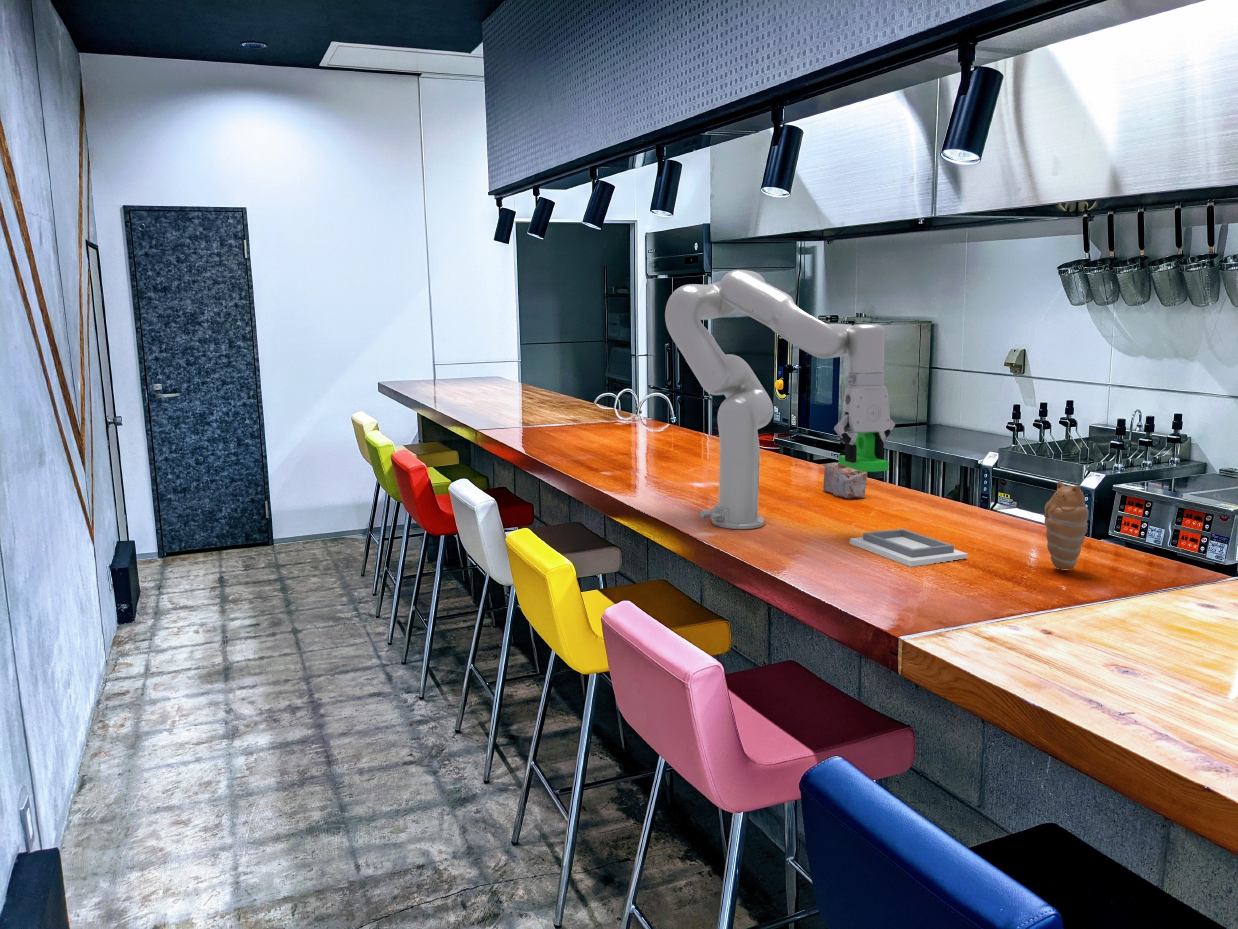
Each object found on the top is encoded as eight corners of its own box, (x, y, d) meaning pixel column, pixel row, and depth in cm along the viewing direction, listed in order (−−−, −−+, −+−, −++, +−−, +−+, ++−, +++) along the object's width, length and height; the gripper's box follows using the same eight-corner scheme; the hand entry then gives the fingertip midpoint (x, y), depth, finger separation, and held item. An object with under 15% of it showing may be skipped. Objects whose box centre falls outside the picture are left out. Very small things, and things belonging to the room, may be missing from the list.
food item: (870, 499, 256) (872, 463, 254) (845, 501, 253) (847, 465, 251) (841, 490, 268) (843, 456, 267) (818, 491, 266) (819, 457, 264)
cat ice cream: (1030, 567, 190) (1038, 480, 187) (1060, 563, 192) (1068, 477, 189) (1065, 578, 181) (1073, 488, 178) (1095, 575, 184) (1104, 485, 181)
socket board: (910, 566, 189) (911, 553, 189) (849, 543, 208) (850, 531, 207) (967, 559, 195) (968, 546, 195) (903, 537, 213) (904, 526, 213)
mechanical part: (838, 464, 214) (839, 429, 213) (862, 462, 216) (863, 428, 214) (863, 472, 203) (863, 435, 201) (888, 470, 204) (889, 434, 203)
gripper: (844, 383, 199) (842, 466, 202) (908, 379, 206) (906, 459, 209) (823, 381, 206) (822, 461, 208) (886, 378, 213) (884, 455, 215)
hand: (864, 459), depth 208 cm, fingers closed on mechanical part, 6 cm apart
